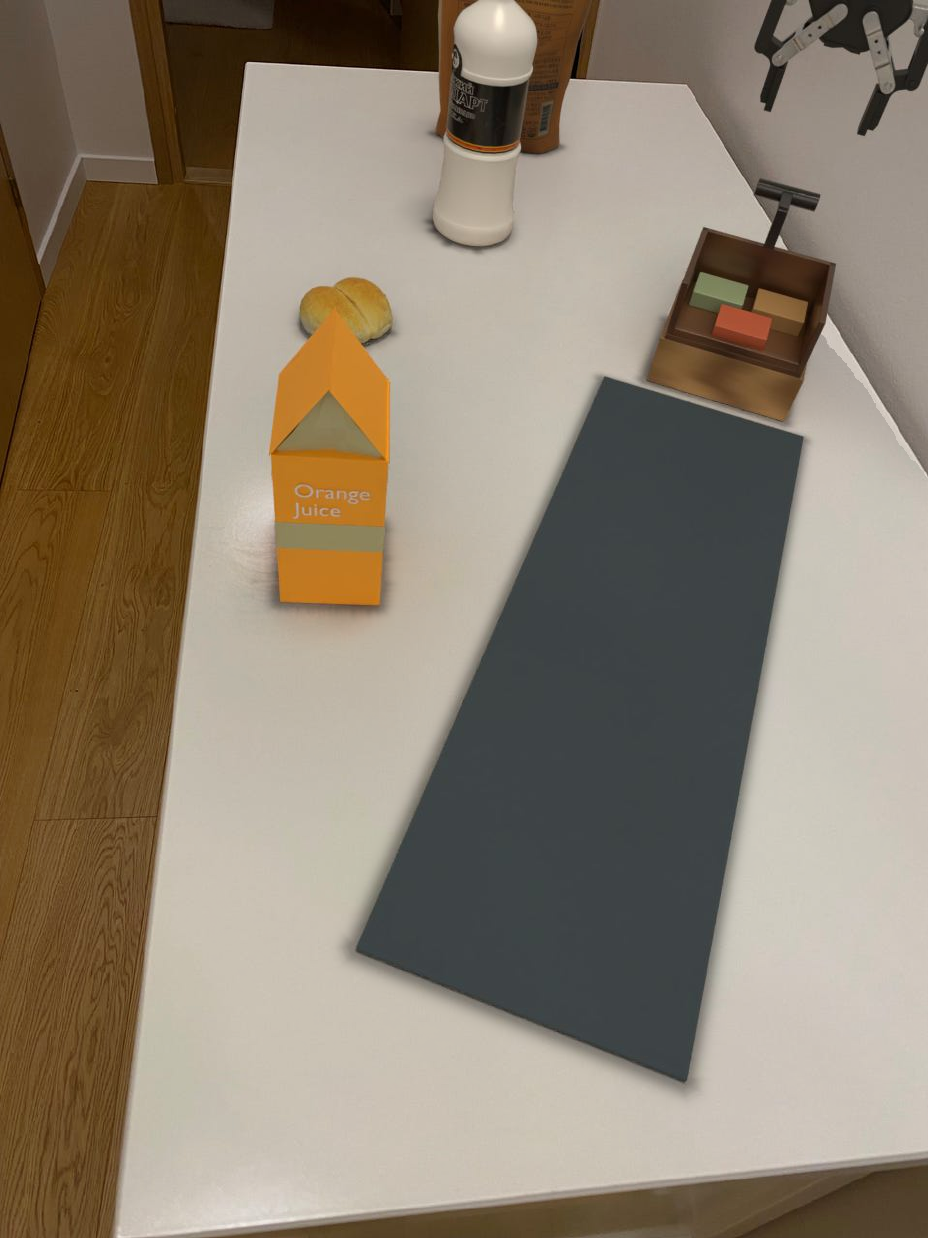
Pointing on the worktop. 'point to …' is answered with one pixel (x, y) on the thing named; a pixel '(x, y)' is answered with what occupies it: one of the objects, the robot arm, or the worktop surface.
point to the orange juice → (330, 470)
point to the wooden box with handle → (758, 271)
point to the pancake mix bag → (559, 21)
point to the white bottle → (484, 122)
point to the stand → (723, 378)
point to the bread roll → (349, 307)
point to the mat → (605, 738)
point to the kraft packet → (781, 311)
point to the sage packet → (717, 293)
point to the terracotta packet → (742, 327)
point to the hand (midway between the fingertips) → (814, 120)
